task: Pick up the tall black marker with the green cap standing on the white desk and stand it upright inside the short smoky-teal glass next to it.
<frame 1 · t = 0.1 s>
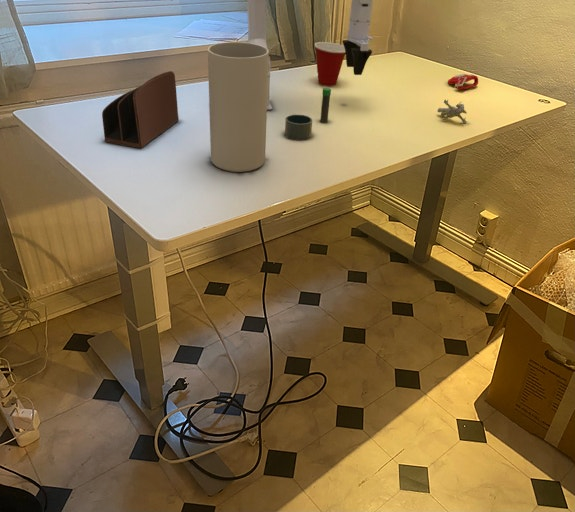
hand: (354, 70, 158), 10 cm above the table, tool pointing down, fingers open, 7 cm apart
tumbler: (297, 134, 143), on the table
cylinder vase: (238, 162, 128), on the table
plastic cup: (327, 84, 180), on the table
grey toy animal: (447, 121, 157), on the table
letter holder: (143, 132, 140), on the table
marker: (323, 121, 152), on the table
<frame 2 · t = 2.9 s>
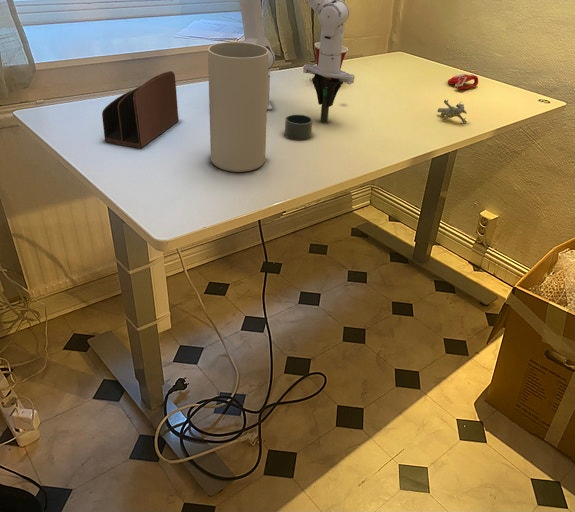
hand: (325, 104, 149), 5 cm above the table, tool pointing down, fingers closed on marker, 2 cm apart
marker: (323, 121, 152), on the table, touching gripper
everything else where it was.
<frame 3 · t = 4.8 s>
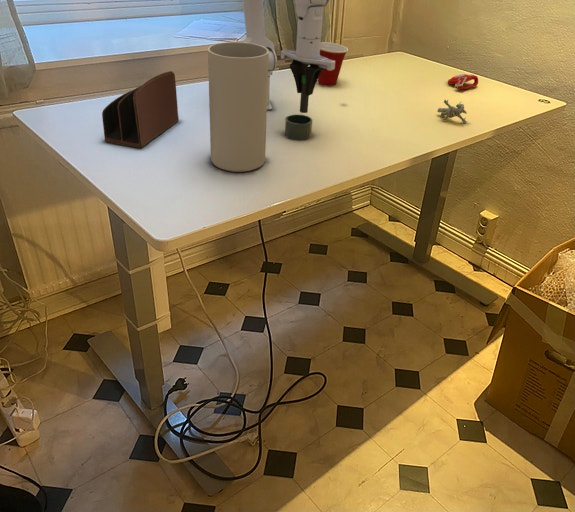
hand: (304, 93, 139), 10 cm above the table, tool pointing down, fingers closed on marker
marker: (303, 111, 141), point 6 cm above the table, touching gripper
everything else where it was.
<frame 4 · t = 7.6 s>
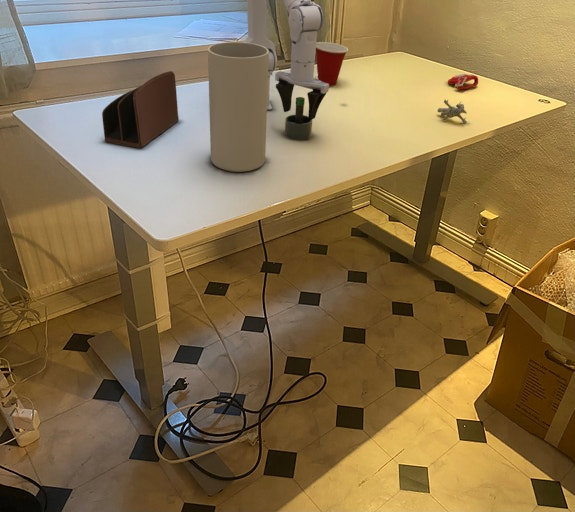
hand: (299, 114, 140), 5 cm above the table, tool pointing down, fingers open, 7 cm apart
tumbler: (297, 134, 143), on the table, touching marker
marker: (298, 132, 143), point 1 cm above the table, touching tumbler
everything else where it was.
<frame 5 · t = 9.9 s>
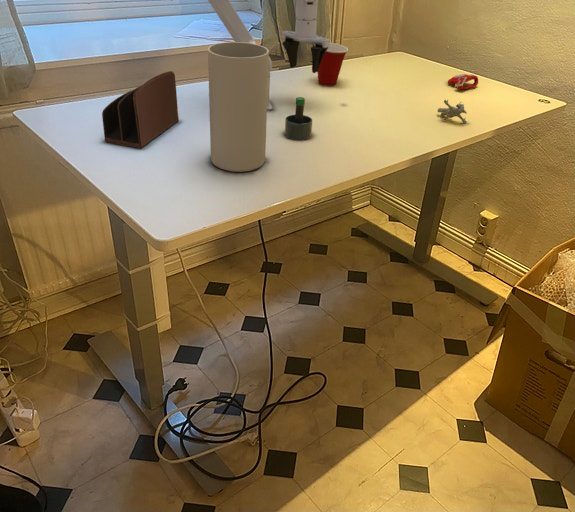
hand: (304, 69, 157), 10 cm above the table, tool pointing down, fingers open, 7 cm apart
nothing on the table moved.
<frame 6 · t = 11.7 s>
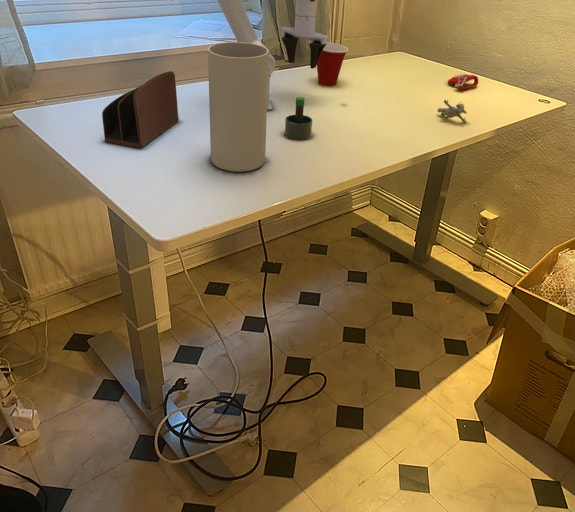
hand: (302, 64, 161), 10 cm above the table, tool pointing down, fingers open, 7 cm apart
nothing on the table moved.
at the end: marker 0.0 cm off-centre in the tumbler, point 0.6 cm above the tumbler's base; the gripper is holding nothing; tumbler tilted 0° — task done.
